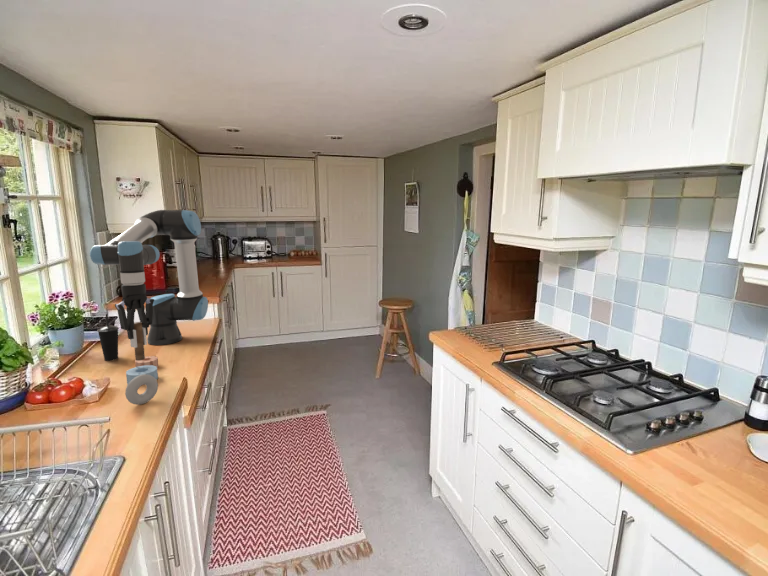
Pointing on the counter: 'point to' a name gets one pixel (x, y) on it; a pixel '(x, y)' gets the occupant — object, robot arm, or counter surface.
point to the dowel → (139, 342)
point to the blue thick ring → (141, 372)
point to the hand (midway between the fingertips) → (139, 345)
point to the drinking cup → (109, 341)
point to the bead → (147, 361)
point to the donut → (136, 383)
